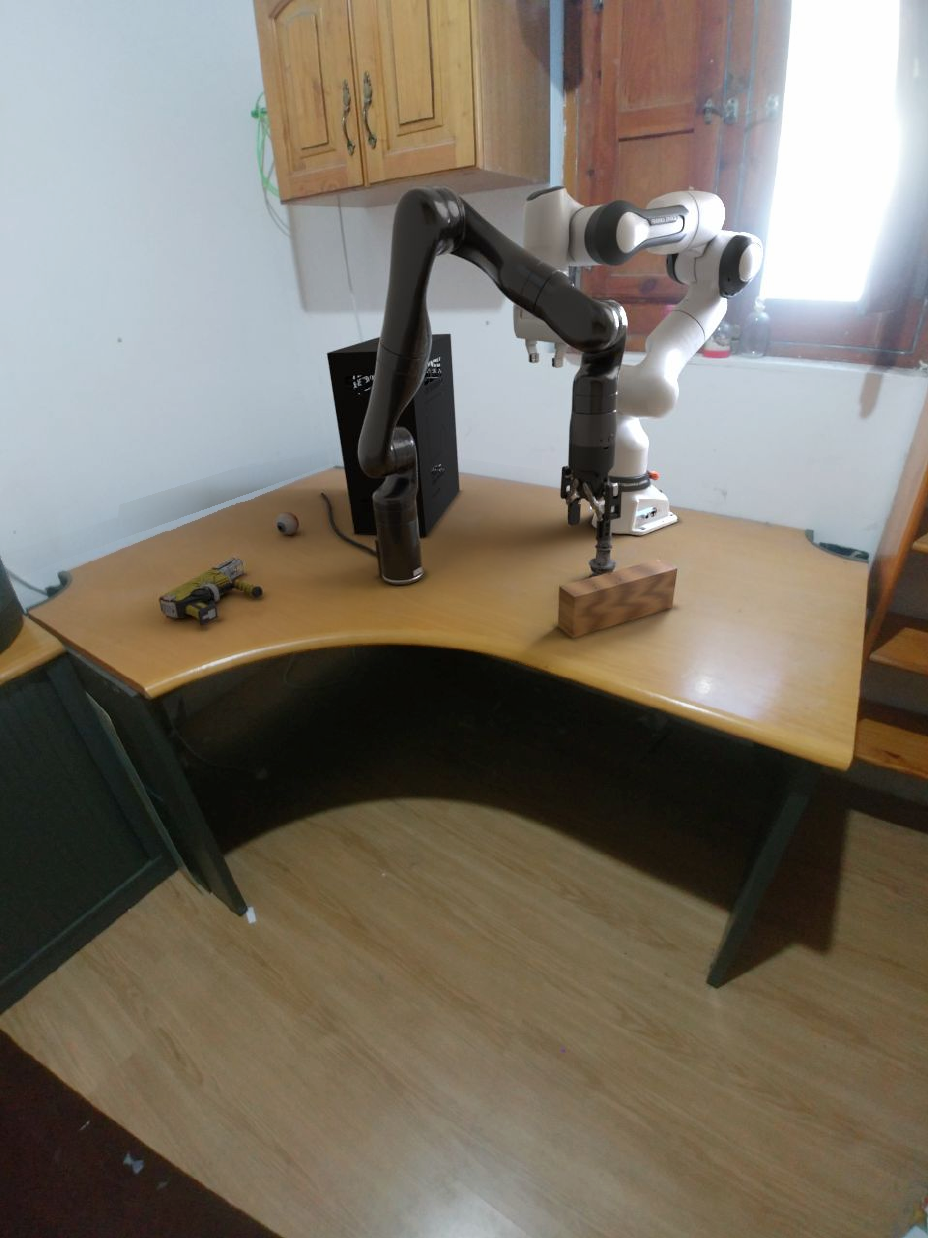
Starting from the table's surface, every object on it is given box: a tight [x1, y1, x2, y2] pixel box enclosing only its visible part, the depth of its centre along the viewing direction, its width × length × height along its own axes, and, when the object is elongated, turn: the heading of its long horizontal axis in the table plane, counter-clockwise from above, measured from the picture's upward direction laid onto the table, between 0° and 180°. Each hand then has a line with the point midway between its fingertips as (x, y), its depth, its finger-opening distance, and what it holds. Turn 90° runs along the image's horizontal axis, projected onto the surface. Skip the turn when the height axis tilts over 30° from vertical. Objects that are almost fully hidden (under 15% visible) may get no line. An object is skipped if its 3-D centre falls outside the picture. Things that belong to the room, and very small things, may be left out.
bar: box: [557, 558, 679, 639], centre depth 116 cm, size 23×5×9 cm, turn 115°
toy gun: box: [158, 557, 263, 626], centre depth 132 cm, size 5×24×15 cm
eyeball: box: [275, 511, 300, 536], centre depth 163 cm, size 6×6×6 cm
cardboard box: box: [326, 333, 460, 538], centre depth 165 cm, size 38×20×45 cm, turn 167°
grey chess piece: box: [588, 532, 617, 578], centre depth 129 cm, size 6×6×12 cm
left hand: (587, 532), depth 106 cm, fingers open, 8 cm apart
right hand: (545, 364), depth 124 cm, fingers open, 8 cm apart
